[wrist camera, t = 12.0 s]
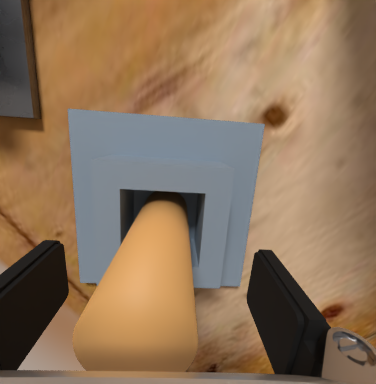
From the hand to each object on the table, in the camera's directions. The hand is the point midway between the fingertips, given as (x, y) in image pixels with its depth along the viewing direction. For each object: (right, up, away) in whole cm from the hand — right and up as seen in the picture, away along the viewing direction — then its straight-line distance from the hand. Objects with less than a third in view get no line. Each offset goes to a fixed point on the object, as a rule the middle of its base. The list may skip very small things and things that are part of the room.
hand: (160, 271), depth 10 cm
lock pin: (-1, +2, +11) cm, 11 cm away
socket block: (-1, +2, +12) cm, 12 cm away
